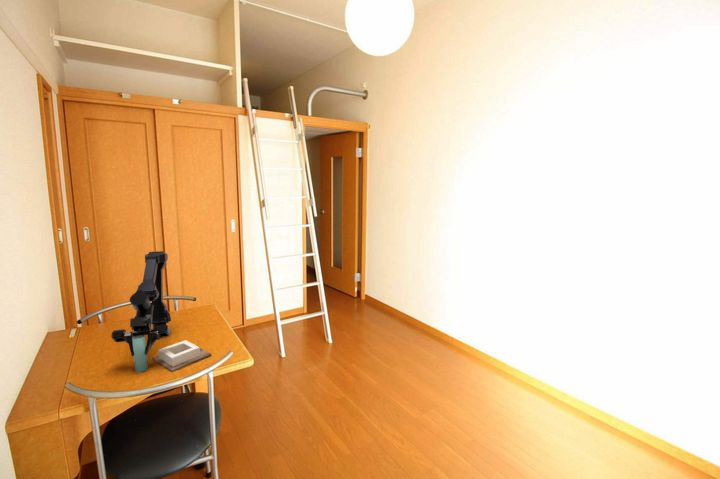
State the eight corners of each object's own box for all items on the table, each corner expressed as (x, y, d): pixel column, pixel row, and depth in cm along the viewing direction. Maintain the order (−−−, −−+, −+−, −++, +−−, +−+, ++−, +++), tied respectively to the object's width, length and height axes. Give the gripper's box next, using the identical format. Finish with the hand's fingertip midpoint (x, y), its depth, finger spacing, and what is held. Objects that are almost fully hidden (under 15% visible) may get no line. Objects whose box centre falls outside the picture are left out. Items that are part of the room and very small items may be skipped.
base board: (152, 359, 141) (152, 357, 141) (191, 344, 154) (191, 343, 154) (172, 372, 132) (171, 370, 132) (211, 355, 145) (211, 353, 145)
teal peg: (133, 370, 133) (130, 337, 131) (145, 365, 136) (142, 334, 134) (138, 373, 131) (135, 340, 129) (149, 369, 134) (146, 337, 132)
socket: (159, 357, 141) (158, 349, 140) (186, 347, 150) (185, 340, 149) (172, 366, 134) (171, 358, 134) (200, 355, 143) (199, 347, 143)
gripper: (110, 310, 131) (102, 351, 122) (166, 305, 136) (162, 344, 128) (119, 322, 139) (112, 361, 131) (171, 317, 145) (168, 354, 137)
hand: (139, 355), depth 131 cm, fingers closed on teal peg, 4 cm apart
